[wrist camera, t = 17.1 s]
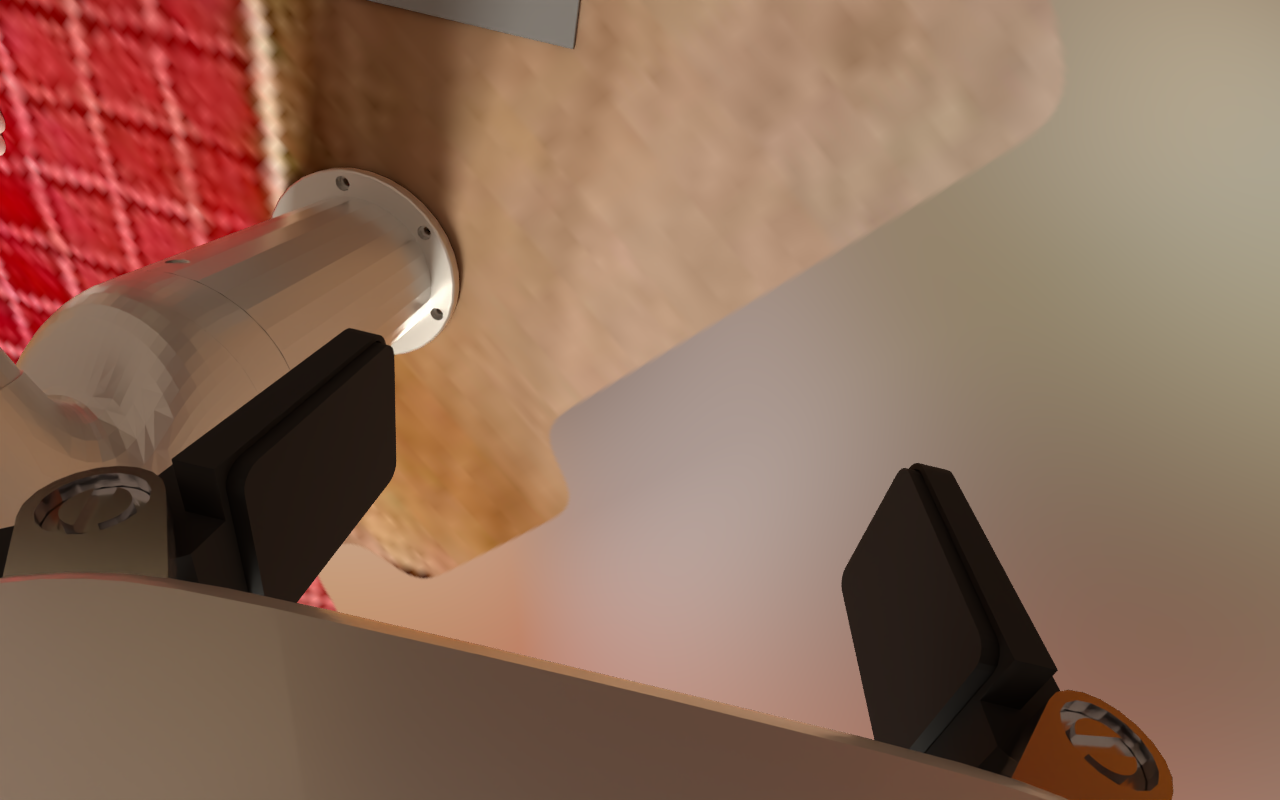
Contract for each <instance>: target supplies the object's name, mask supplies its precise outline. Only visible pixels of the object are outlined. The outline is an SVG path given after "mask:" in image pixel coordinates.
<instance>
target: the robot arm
mask: <svg viewBox="0 0 1280 800" xmlns="http://www.w3.org/2000/svg"><path fill="white" fill-rule="evenodd" d="M347 180H348V181H347ZM348 182H349V183H348ZM427 228H428V229H429V230H430V232H431V233H430V232H428V231H427ZM458 294H459V272H458V267H457V263H456V258H455V254H454V252H453V249H452V247H451V245H450V242H449V240H448V237H447V235H446V234H445V232H444V231H443V229H442V227H441V226H440V224H439V222H438V221H437V219H436V218H435V217H434V216H433V215H432V213H431V212H430V211H429V210H428V209H427V208H426V206H425V205H424V204H423V203H422V202H421V201H419V200H418V199H417V198H416V197H415V196H414V195H413V194H411V193H410V192H409V191H408V190H407V189H405V188H403V187H402V186H400V185H398V184H397V183H395V182H394V181H392V180H390V179H388V178H386V177H383V176H381V175H378V174H376V173H373V172H371V171H366V170H361V169H356V168H331V169H326V170H322V171H318V172H315V173H313V174H310V175H307V176H304V177H302V178H301V179H299V180H298V181H296V182H295V183H294V184H292V185H291V186H289V188H288V189H287V190H286V191H285V192H284V194H283V195H282V196H281V197H280V199H279V201H278V203H277V205H276V207H275V209H274V211H273V214H272V219H269V220H267V221H264V222H261V223H259V224H256V225H254V226H251V227H248V228H246V229H243V230H240V231H238V232H235V233H232V234H230V235H227V236H224V237H222V238H219V239H217V240H214V241H211V242H209V243H206V244H203V245H201V246H198V247H195V248H193V249H190V250H187V251H185V252H182V253H180V254H177V255H174V256H172V257H169V258H166V259H164V260H161V261H158V262H156V263H153V264H150V265H148V266H145V267H143V268H140V269H137V270H135V271H132V272H129V273H127V274H124V275H121V276H119V277H116V278H113V279H111V280H108V281H106V282H103V283H100V284H98V285H95V286H93V287H91V288H89V289H87V290H85V291H83V292H82V293H80V294H78V295H76V296H75V297H74V298H72V299H71V300H69V301H68V302H67V303H65V304H64V305H62V306H61V307H60V308H59V309H58V310H57V311H56V312H55V313H54V314H53V315H52V316H51V317H50V318H49V319H48V320H47V321H46V322H45V323H44V324H43V325H42V326H41V327H40V328H39V329H38V331H37V332H36V333H35V335H34V336H33V337H32V339H31V340H30V342H29V343H28V345H27V346H26V348H25V349H24V351H23V352H22V354H21V356H20V358H19V360H18V362H17V364H16V365H15V364H14V363H13V362H12V360H11V359H10V358H9V357H8V356H7V355H6V353H5V352H4V351H3V350H2V349H1V348H0V800H1172V796H1173V778H1172V775H1171V773H1170V770H1169V768H1168V765H1167V763H1166V761H1165V759H1164V758H1163V756H1162V755H1161V753H1160V752H1159V750H1158V749H1157V748H1156V746H1155V745H1154V743H1153V742H1152V741H1151V740H1150V739H1149V738H1148V737H1147V736H1146V734H1145V733H1144V732H1143V731H1142V730H1141V729H1140V728H1139V727H1138V726H1137V725H1136V724H1135V723H1134V722H1132V721H1131V720H1130V719H1129V718H1127V717H1126V716H1125V715H1124V714H1123V713H1121V712H1120V711H1119V710H1117V709H1115V708H1114V707H1112V706H1111V705H1109V704H1107V703H1106V702H1104V701H1102V700H1101V699H1099V698H1096V697H1094V696H1091V695H1089V694H1086V693H1084V692H1078V691H1073V690H1064V691H1060V690H1059V688H1058V686H1057V684H1056V682H1055V680H1054V678H1053V675H1054V674H1055V672H1056V671H1057V668H1056V666H1055V664H1054V662H1053V660H1052V658H1051V657H1050V655H1049V653H1048V651H1047V649H1046V647H1045V645H1044V644H1043V642H1042V640H1041V638H1040V636H1039V634H1038V632H1037V631H1036V629H1035V627H1034V625H1033V623H1032V621H1031V619H1030V617H1029V616H1028V614H1027V612H1026V610H1025V608H1024V606H1023V604H1022V603H1021V601H1020V599H1019V597H1018V595H1017V593H1016V591H1015V590H1014V588H1013V586H1012V584H1011V582H1010V580H1009V578H1008V576H1007V575H1006V573H1005V571H1004V569H1003V567H1002V565H1001V564H1000V561H999V560H998V558H997V556H996V554H995V552H994V550H993V548H992V547H991V545H990V543H989V541H988V539H987V537H986V535H985V534H984V532H983V530H982V528H981V526H980V524H979V522H978V521H977V519H976V517H975V515H974V513H973V511H972V509H971V508H970V506H969V504H968V502H967V500H966V498H965V496H964V494H963V493H962V491H961V489H960V487H959V485H958V483H957V482H956V479H955V478H954V476H953V474H952V473H951V472H950V471H948V470H945V469H941V468H937V467H932V466H928V465H924V464H920V463H916V464H913V465H912V466H911V467H910V468H909V469H906V468H903V469H901V470H900V471H899V472H898V473H897V475H896V477H895V479H894V480H893V482H892V484H891V486H890V488H889V490H888V491H887V493H886V495H885V497H884V499H883V501H882V503H881V504H880V506H879V508H878V510H877V511H876V513H875V515H874V517H873V519H872V521H871V522H870V524H869V526H868V528H867V530H866V532H865V533H864V535H863V537H862V539H861V540H860V542H859V544H858V546H857V548H856V550H855V551H854V553H853V555H852V557H851V559H850V561H849V562H848V564H847V566H846V568H845V570H844V572H843V576H842V593H843V597H844V602H845V606H846V611H847V615H848V620H849V625H850V629H851V634H852V639H853V643H854V648H855V652H856V656H857V661H858V666H859V671H860V675H861V680H862V684H863V689H864V694H865V698H866V703H867V707H868V712H869V717H870V721H871V726H872V730H873V735H874V740H872V739H868V738H864V737H860V736H856V735H852V734H848V733H844V732H840V731H836V730H831V729H827V728H824V727H820V726H815V725H811V724H807V723H803V722H799V721H795V720H791V719H787V718H782V717H779V716H774V715H770V714H766V713H762V712H758V711H754V710H750V709H746V708H741V707H738V706H734V705H729V704H725V703H721V702H717V701H713V700H709V699H705V698H701V697H696V696H692V695H688V694H684V693H680V692H676V691H671V690H667V689H663V688H659V687H655V686H651V685H646V684H642V683H638V682H634V681H630V680H625V679H621V678H617V677H613V676H609V675H605V674H600V673H596V672H592V671H587V670H584V669H579V668H575V667H571V666H567V665H562V664H558V663H554V662H550V661H546V660H541V659H537V658H533V657H529V656H525V655H520V654H516V653H512V652H507V651H503V650H499V649H495V648H491V647H486V646H482V645H478V644H473V643H469V642H465V641H460V640H456V639H452V638H447V637H443V636H439V635H435V634H430V633H426V632H422V631H418V630H413V629H409V628H404V627H400V626H396V625H392V624H387V623H383V622H379V621H374V620H370V619H365V618H361V617H357V616H353V615H348V614H344V613H340V612H336V611H331V610H327V609H322V608H317V607H313V606H308V605H303V604H299V603H297V602H298V600H299V599H300V598H301V596H302V595H303V594H304V593H305V591H306V590H307V589H308V587H309V586H310V585H311V583H312V582H313V581H314V580H315V578H316V577H317V576H318V574H319V573H320V572H321V570H322V569H323V568H324V567H325V565H326V564H327V563H328V561H329V560H330V559H331V557H332V556H333V555H334V553H335V552H336V551H337V550H338V548H339V547H340V546H341V544H342V543H343V542H344V541H345V539H346V538H347V537H348V535H349V534H350V533H351V531H352V530H353V529H354V528H355V526H356V525H357V524H358V522H359V521H360V520H361V518H362V517H363V516H364V515H365V513H366V512H367V511H368V509H369V508H370V507H371V506H372V504H373V503H374V502H375V500H376V499H377V498H378V496H379V495H380V494H381V493H382V491H383V490H384V489H385V487H386V486H387V485H388V483H389V482H390V480H391V479H392V477H393V474H394V471H395V467H396V427H395V372H394V355H398V354H404V353H409V352H412V351H414V350H417V349H419V348H422V347H423V346H425V345H426V344H428V343H429V342H431V341H432V340H433V339H434V338H435V337H436V336H437V335H438V334H439V333H441V332H442V331H443V329H444V328H445V326H446V325H447V324H448V322H449V321H450V319H451V318H452V315H453V313H454V310H455V308H456V305H457V300H458ZM440 310H441V311H442V312H441V311H440Z"/></svg>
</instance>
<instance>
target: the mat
mask: <svg viewBox="0 0 1280 800" xmlns="http://www.w3.org/2000/svg"><path fill="white" fill-rule="evenodd" d="M369 1H373V2H377V3H381V4H385V5H390V6H394V7H398V8H402V9H406V10H411V11H415V12H419V13H423V14H427V15H432V16H436V17H440V18H444V19H448V20H453V21H457V22H461V23H465V24H470V25H474V26H478V27H482V28H486V29H491V30H495V31H499V32H503V33H507V34H512V35H516V36H520V37H524V38H528V39H533V40H537V41H541V42H545V43H549V44H554V45H558V46H562V47H566V48H570V49H574V46H575V37H576V29H577V21H578V13H579V5H580V0H369Z"/></svg>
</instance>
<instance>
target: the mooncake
mask: <svg viewBox="0 0 1280 800" xmlns="http://www.w3.org/2000/svg"><path fill="white" fill-rule="evenodd" d="M4 130H5V121H4V118H3V116H2V114H1V113H0V155H2V154H4V153H5V150H6V145H5V141H4V139H3V137H2V136H1V133H2V132H4Z"/></svg>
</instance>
